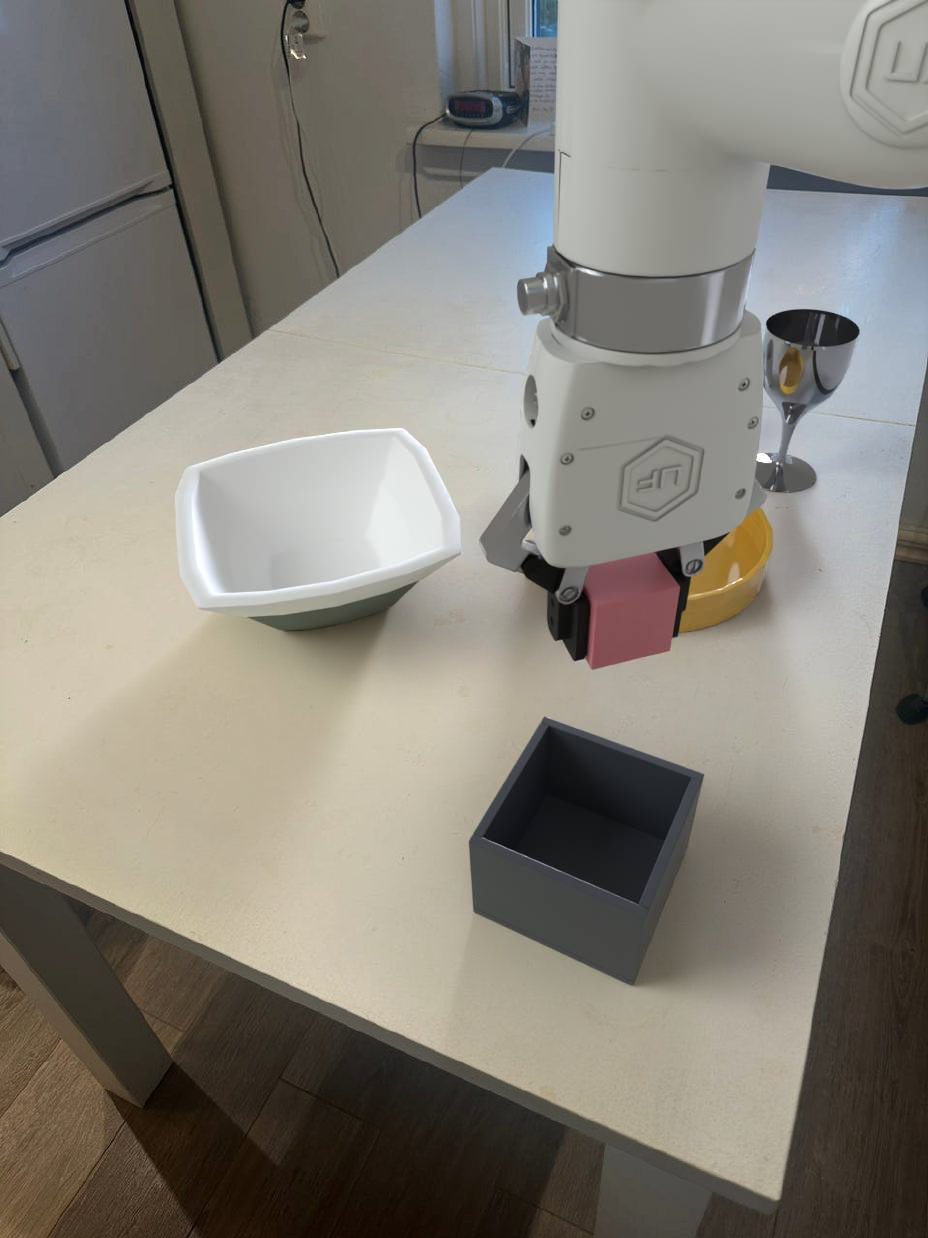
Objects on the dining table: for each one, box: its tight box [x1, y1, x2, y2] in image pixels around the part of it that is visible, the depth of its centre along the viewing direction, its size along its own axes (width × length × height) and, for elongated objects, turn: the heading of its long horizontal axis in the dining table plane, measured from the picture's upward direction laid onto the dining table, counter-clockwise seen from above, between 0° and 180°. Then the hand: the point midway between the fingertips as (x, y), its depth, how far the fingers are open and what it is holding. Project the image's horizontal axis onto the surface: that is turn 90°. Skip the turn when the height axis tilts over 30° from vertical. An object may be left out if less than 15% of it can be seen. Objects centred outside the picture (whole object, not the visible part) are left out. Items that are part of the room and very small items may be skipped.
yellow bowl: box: [679, 506, 774, 633], centre depth 77 cm, size 20×20×4 cm
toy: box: [583, 552, 680, 671], centre depth 45 cm, size 4×4×4 cm
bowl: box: [174, 427, 462, 631], centre depth 74 cm, size 22×23×8 cm
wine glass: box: [755, 308, 861, 493], centre depth 82 cm, size 8×8×15 cm
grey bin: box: [468, 716, 705, 987], centre depth 52 cm, size 10×10×8 cm
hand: (614, 629), depth 46 cm, fingers closed on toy, 4 cm apart
